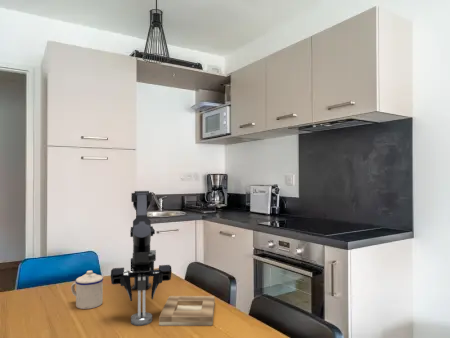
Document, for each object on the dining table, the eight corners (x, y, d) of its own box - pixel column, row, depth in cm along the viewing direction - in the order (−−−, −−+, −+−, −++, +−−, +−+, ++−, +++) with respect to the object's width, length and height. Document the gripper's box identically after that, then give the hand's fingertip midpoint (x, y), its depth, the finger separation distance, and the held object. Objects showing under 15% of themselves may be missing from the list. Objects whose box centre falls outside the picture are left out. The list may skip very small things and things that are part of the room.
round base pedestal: (131, 318, 108) (131, 273, 109) (151, 316, 110) (152, 272, 110) (130, 326, 102) (130, 279, 102) (152, 324, 104) (152, 277, 104)
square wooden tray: (169, 303, 121) (169, 295, 121) (214, 303, 121) (214, 296, 121) (159, 325, 103) (159, 317, 103) (212, 325, 103) (212, 317, 103)
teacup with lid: (108, 301, 123) (108, 268, 123) (91, 311, 114) (91, 275, 114) (80, 297, 126) (80, 266, 126) (62, 307, 117) (62, 272, 118)
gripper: (111, 242, 108) (107, 289, 97) (171, 240, 112) (174, 284, 102) (113, 261, 116) (110, 307, 105) (169, 258, 120) (171, 301, 109)
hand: (141, 299), depth 105 cm, fingers open, 6 cm apart
